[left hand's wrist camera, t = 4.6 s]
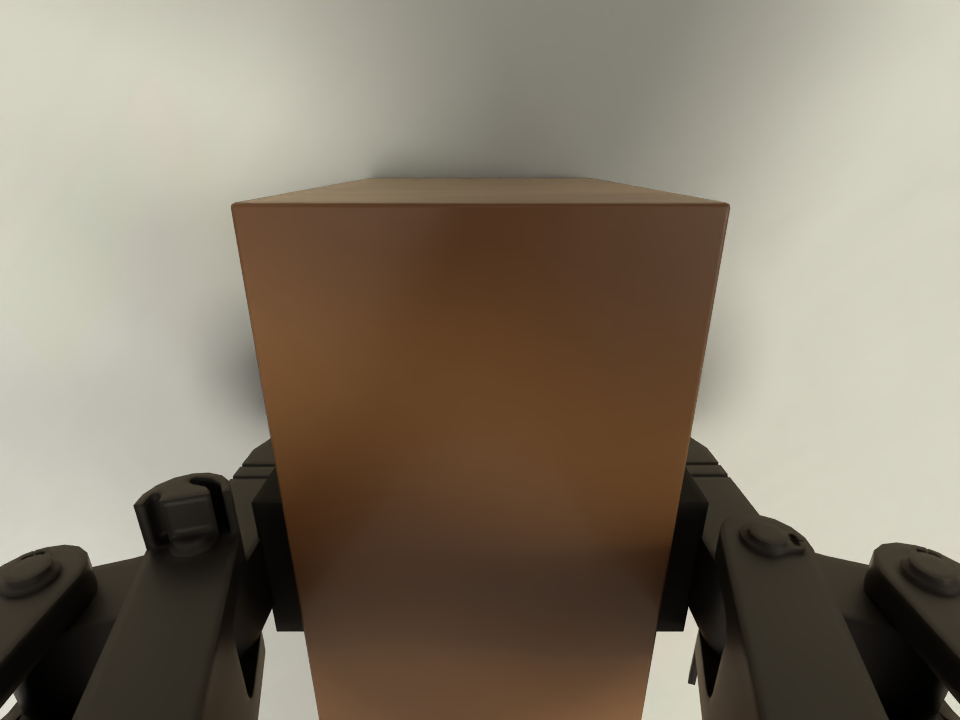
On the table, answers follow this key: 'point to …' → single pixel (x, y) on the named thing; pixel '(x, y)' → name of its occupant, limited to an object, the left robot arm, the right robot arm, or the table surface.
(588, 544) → the bar
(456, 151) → the table surface
